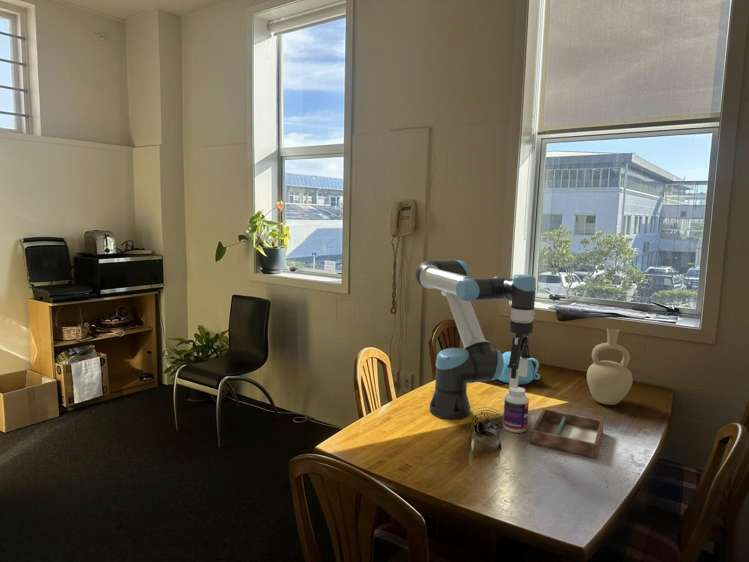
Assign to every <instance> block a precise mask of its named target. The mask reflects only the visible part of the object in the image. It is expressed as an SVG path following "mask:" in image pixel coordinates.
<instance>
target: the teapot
mask: <svg viewBox="0 0 749 562" xmlns="http://www.w3.org/2000/svg"><path fill="white" fill-rule="evenodd" d="M510 355H511V351H505V352H504V353H502V356H503V360H504V368H503V372H502V374H501V376H500V377H499V378H498V379H497V380H498V381H500V382H502V383H506V384H509V380H510V368H508V365H509V361H510ZM520 358H522V357H520ZM527 359H528V365H527V377H523V376H519V377H518V386H519V385H527V384H530V383H531V382H532V381H533V380H535V381H537V380H540V378H541V375H540V374H539V373H538V371H539V368H540V367H539V366H540V362H539V361H538V360H537V359H536V358H534V357H530V358H527ZM532 361H533V362H534V363H535V368H534V365H533V362H532ZM514 365H515V364H514ZM518 368H519V366H518Z"/></svg>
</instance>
